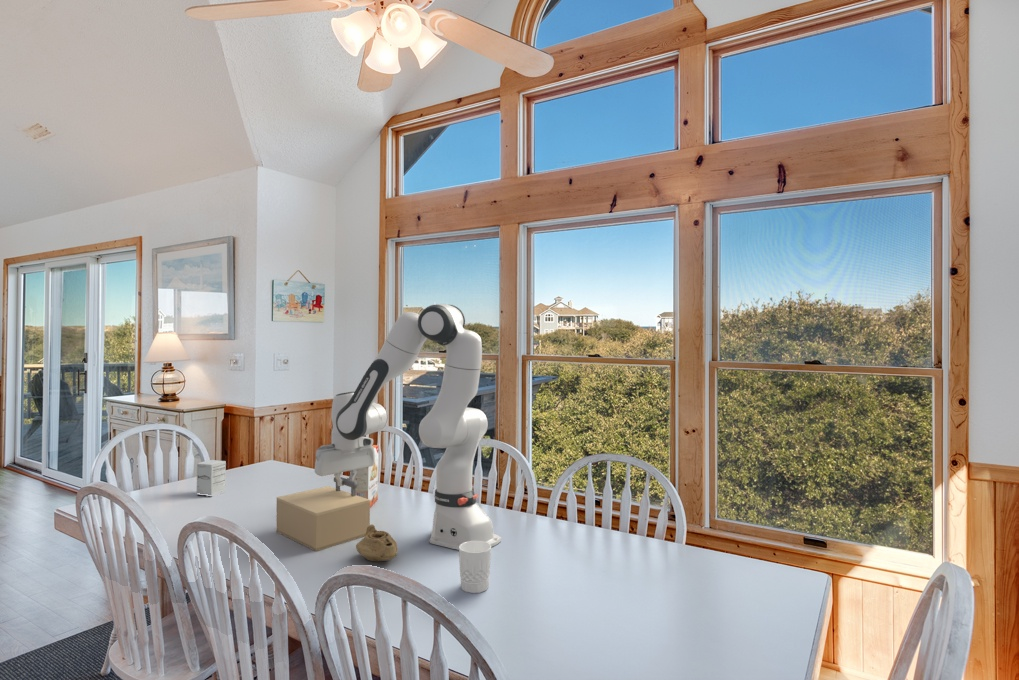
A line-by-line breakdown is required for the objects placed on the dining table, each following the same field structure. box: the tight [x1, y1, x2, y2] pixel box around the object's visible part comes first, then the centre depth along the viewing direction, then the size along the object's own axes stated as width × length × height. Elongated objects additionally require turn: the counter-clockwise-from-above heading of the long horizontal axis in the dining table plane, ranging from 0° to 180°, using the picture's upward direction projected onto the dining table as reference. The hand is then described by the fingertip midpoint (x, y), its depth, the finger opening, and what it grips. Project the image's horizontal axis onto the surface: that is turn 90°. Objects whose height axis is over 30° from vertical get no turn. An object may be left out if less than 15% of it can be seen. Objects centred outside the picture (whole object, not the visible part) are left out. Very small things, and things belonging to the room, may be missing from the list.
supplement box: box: [196, 459, 227, 495], centre depth 216 cm, size 7×7×13 cm
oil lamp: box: [355, 523, 398, 562], centre depth 153 cm, size 11×15×8 cm
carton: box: [275, 499, 371, 552], centre depth 173 cm, size 24×18×10 cm
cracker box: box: [354, 444, 380, 508], centre depth 202 cm, size 14×6×21 cm, turn 179°
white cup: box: [458, 541, 492, 594], centre depth 136 cm, size 8×8×10 cm
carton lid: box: [276, 476, 370, 516], centre depth 173 cm, size 24×18×6 cm
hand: (345, 484), depth 179 cm, fingers closed on carton lid, 2 cm apart
